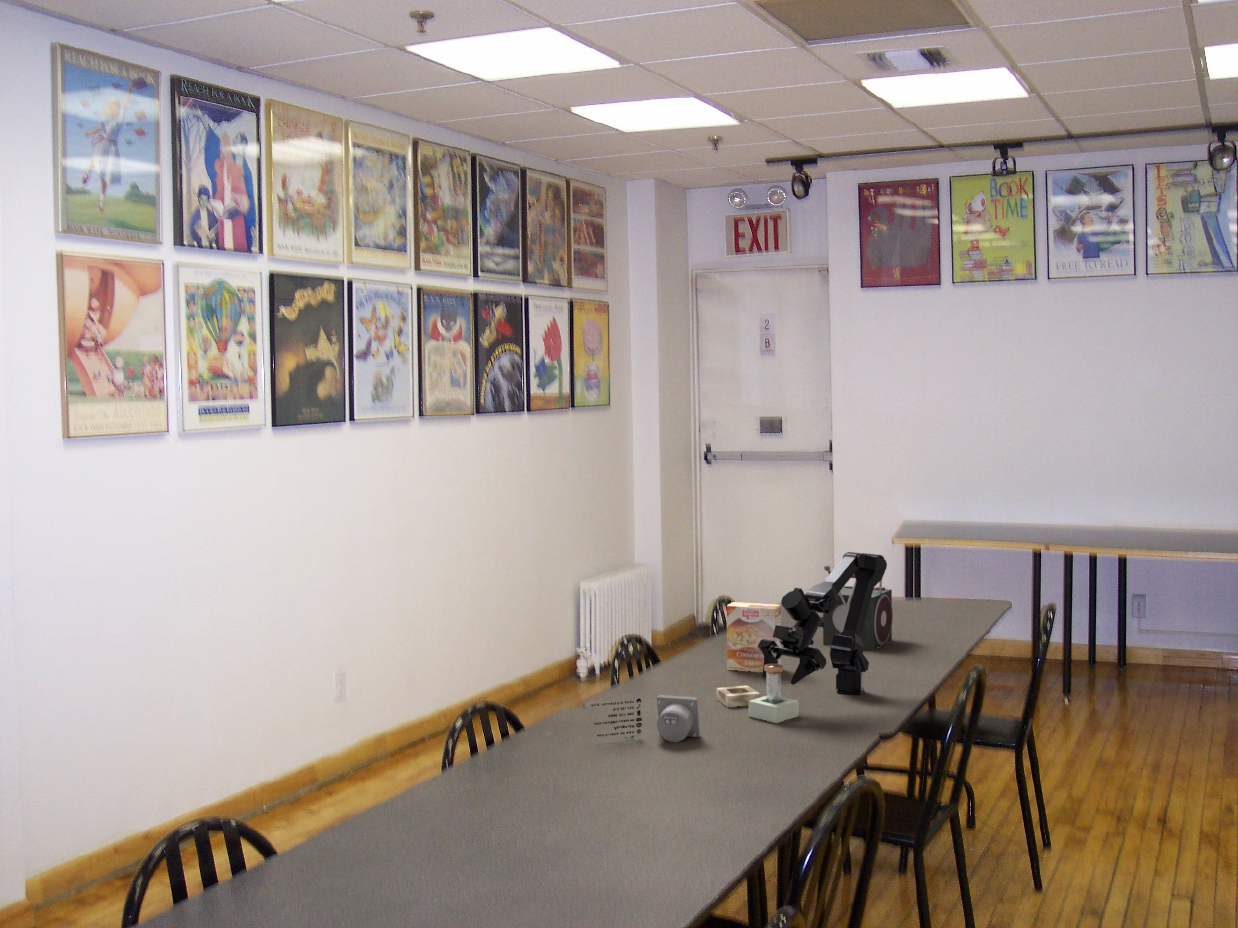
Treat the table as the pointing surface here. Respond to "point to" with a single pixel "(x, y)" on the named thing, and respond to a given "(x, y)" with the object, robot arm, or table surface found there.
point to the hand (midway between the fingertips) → (777, 680)
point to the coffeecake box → (750, 634)
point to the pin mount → (736, 695)
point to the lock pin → (773, 682)
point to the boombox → (876, 619)
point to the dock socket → (773, 709)
